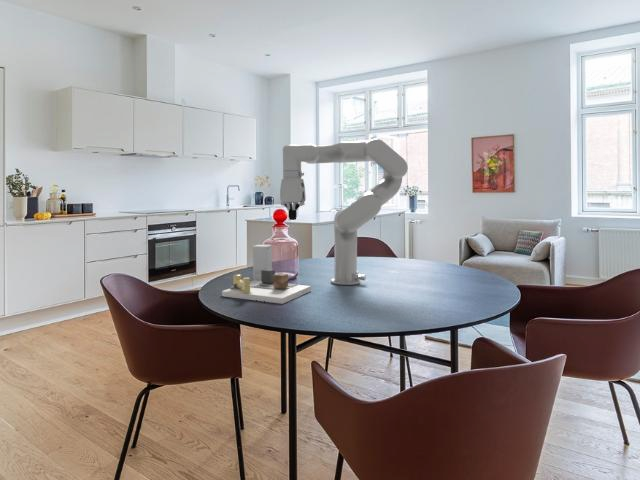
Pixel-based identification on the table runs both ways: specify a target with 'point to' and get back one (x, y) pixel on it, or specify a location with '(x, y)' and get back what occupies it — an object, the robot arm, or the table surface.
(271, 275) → the gray slider
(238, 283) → the brass lever
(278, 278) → the walnut slider
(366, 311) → the table surface
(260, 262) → the skincare box
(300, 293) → the panel
